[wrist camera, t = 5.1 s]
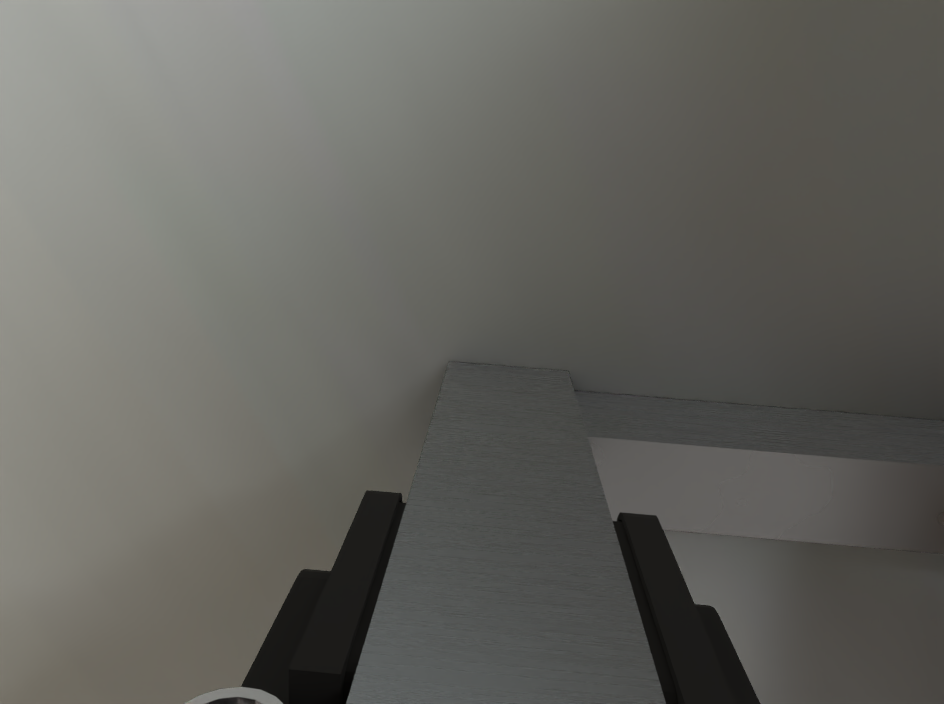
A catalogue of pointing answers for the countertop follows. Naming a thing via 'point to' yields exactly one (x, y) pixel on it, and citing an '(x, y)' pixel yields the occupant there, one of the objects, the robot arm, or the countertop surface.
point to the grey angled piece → (607, 526)
